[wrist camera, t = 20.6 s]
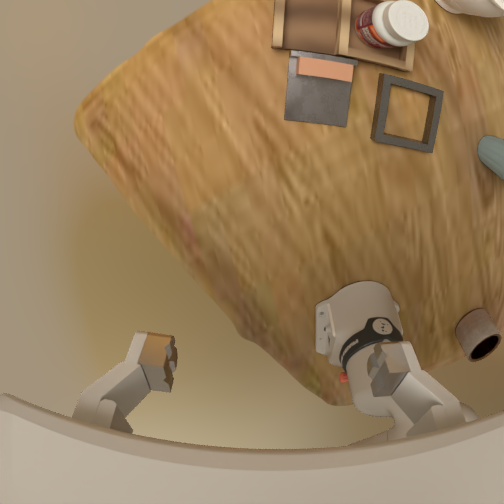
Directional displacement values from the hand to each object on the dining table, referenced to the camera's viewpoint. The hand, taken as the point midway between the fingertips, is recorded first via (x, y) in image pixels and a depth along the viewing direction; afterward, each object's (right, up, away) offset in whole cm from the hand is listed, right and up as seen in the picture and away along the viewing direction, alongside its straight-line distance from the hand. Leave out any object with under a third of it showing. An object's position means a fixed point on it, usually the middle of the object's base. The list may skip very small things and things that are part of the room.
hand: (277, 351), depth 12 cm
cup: (+41, +22, +29) cm, 55 cm away
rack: (+12, +36, +21) cm, 43 cm away
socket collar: (+22, +25, +27) cm, 43 cm away
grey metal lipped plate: (+8, +27, +27) cm, 39 cm away
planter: (+57, -14, +53) cm, 79 cm away
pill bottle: (+16, +35, +20) cm, 43 cm away
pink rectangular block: (+9, +29, +25) cm, 39 cm away
